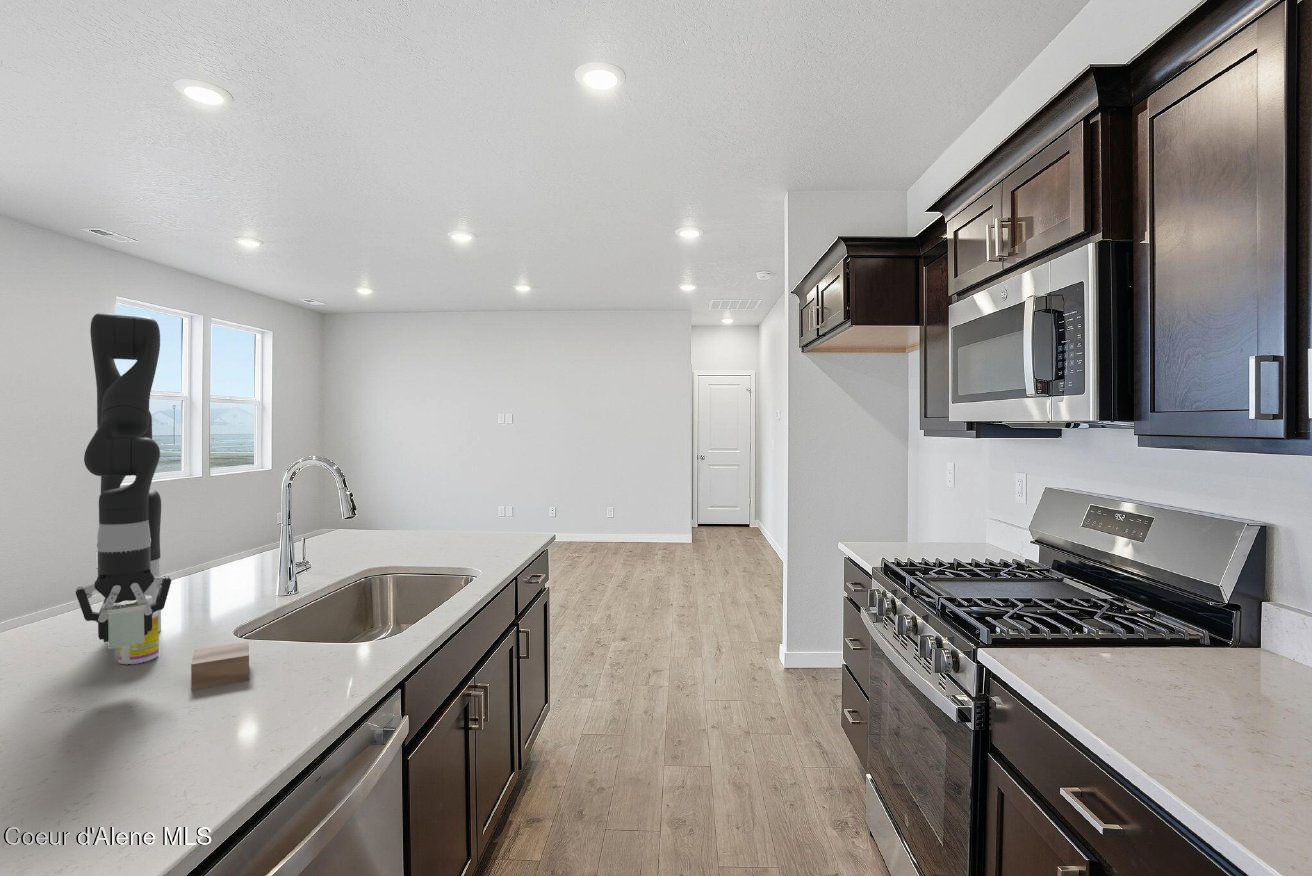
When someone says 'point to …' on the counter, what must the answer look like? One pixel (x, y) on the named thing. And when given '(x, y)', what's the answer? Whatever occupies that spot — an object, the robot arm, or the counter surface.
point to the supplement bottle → (142, 645)
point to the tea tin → (125, 624)
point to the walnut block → (220, 665)
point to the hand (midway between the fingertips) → (125, 636)
